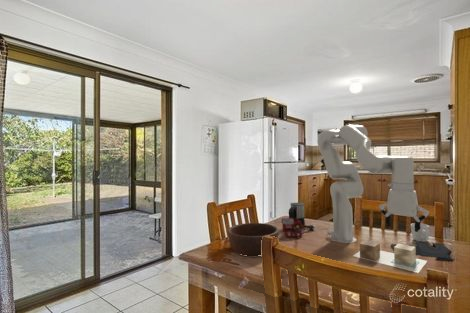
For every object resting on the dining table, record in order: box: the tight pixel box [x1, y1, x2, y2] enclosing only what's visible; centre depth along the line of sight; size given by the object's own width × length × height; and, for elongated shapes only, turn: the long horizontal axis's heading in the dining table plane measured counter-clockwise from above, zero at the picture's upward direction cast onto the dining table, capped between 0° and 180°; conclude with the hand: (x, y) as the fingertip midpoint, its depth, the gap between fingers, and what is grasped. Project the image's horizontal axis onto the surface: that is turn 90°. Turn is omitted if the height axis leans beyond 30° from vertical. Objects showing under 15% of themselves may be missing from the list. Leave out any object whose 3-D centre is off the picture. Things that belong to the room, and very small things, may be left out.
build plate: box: [352, 249, 428, 274], centre depth 108 cm, size 24×15×1 cm, turn 43°
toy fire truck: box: [281, 217, 305, 239], centre depth 145 cm, size 7×12×10 cm, turn 86°
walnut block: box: [359, 239, 381, 262], centre depth 110 cm, size 6×6×6 cm
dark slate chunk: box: [390, 241, 455, 262], centre depth 115 cm, size 15×22×5 cm
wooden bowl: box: [227, 222, 279, 256], centre depth 126 cm, size 25×25×10 cm
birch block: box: [393, 243, 417, 266], centre depth 104 cm, size 6×6×6 cm
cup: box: [410, 222, 430, 243], centre depth 131 cm, size 11×8×8 cm
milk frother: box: [288, 202, 316, 230], centre depth 162 cm, size 14×16×15 cm
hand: (402, 228), depth 104 cm, fingers open, 9 cm apart
